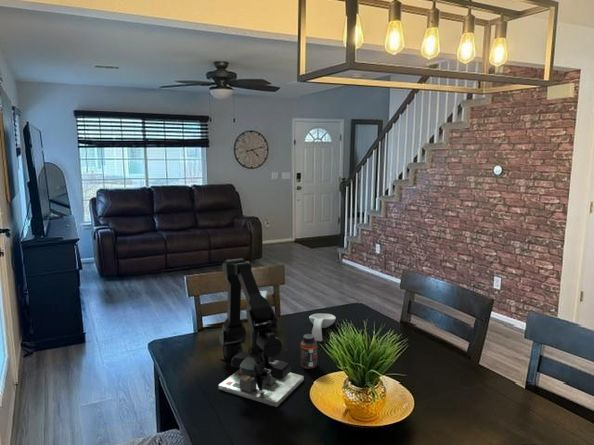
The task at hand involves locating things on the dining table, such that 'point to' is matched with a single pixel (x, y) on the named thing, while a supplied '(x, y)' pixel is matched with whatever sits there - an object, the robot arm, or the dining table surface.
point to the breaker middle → (270, 380)
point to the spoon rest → (320, 324)
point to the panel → (269, 393)
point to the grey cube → (247, 383)
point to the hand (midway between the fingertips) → (261, 389)
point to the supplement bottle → (308, 352)
